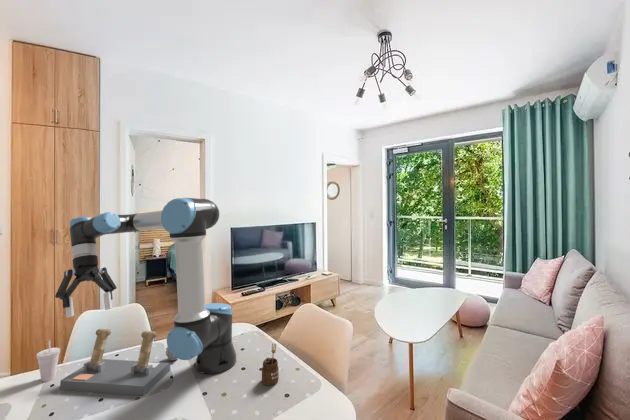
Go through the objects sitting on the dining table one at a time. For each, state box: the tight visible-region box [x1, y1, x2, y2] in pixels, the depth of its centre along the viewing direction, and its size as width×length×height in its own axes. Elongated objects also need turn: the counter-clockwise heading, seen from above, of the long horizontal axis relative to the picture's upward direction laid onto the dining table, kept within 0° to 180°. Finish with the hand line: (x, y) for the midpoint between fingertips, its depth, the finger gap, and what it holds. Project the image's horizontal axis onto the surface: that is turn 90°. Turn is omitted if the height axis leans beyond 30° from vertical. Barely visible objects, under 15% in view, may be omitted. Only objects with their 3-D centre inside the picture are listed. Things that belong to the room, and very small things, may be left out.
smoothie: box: [35, 339, 61, 383], centre depth 102 cm, size 6×6×14 cm
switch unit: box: [59, 358, 171, 396], centre depth 102 cm, size 30×14×6 cm, turn 85°
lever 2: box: [134, 330, 157, 373], centre depth 103 cm, size 5×2×13 cm, turn 85°
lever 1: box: [87, 328, 112, 370], centre depth 104 cm, size 5×2×13 cm, turn 84°
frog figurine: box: [165, 346, 178, 361], centre depth 115 cm, size 6×7×7 cm
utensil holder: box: [261, 342, 280, 386], centre depth 101 cm, size 6×6×12 cm
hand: (90, 312), depth 105 cm, fingers open, 13 cm apart
